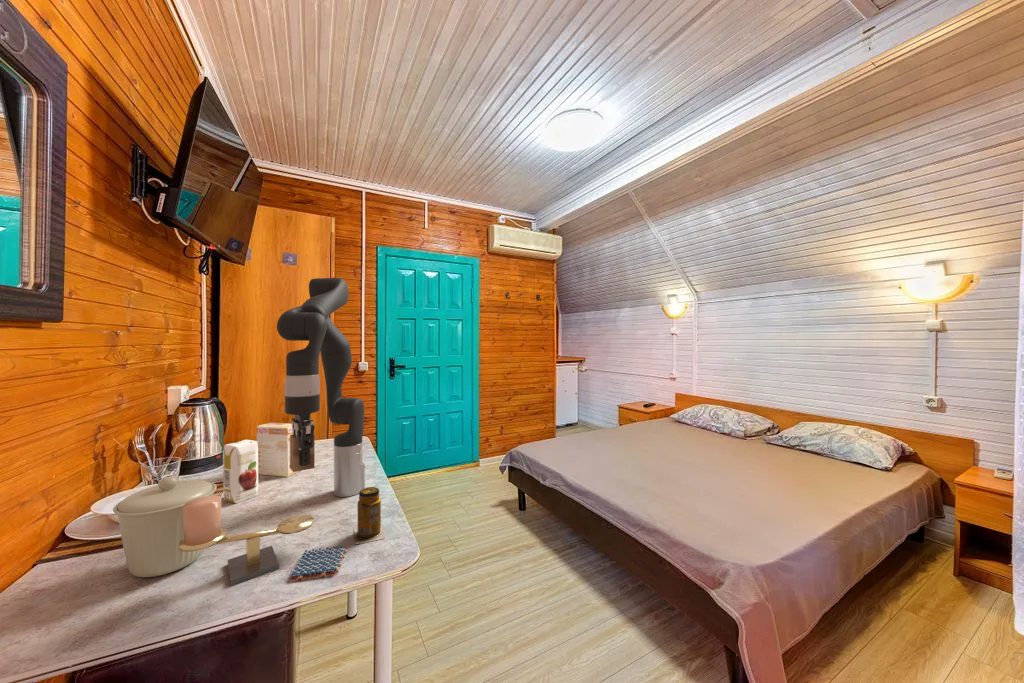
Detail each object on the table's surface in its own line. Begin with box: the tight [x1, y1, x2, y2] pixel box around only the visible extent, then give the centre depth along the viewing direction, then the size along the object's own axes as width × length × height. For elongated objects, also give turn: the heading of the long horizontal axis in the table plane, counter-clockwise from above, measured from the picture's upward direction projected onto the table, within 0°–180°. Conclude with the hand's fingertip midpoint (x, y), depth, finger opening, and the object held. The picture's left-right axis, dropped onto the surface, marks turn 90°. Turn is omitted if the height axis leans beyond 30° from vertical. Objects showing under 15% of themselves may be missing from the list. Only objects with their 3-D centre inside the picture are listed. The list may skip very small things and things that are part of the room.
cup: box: [183, 495, 223, 546], centre depth 81 cm, size 6×6×8 cm
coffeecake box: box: [256, 422, 299, 478], centre depth 147 cm, size 15×7×20 cm, turn 77°
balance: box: [179, 514, 315, 587], centre depth 87 cm, size 26×10×10 cm, turn 132°
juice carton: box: [222, 439, 259, 504], centre depth 124 cm, size 8×9×19 cm
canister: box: [112, 475, 217, 578], centre depth 88 cm, size 18×18×21 cm
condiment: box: [353, 486, 385, 545], centre depth 101 cm, size 7×8×12 cm
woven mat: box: [289, 545, 348, 582], centre depth 87 cm, size 10×11×2 cm
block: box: [290, 434, 316, 472], centre depth 90 cm, size 4×4×8 cm
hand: (302, 462), depth 90 cm, fingers closed on block, 4 cm apart
